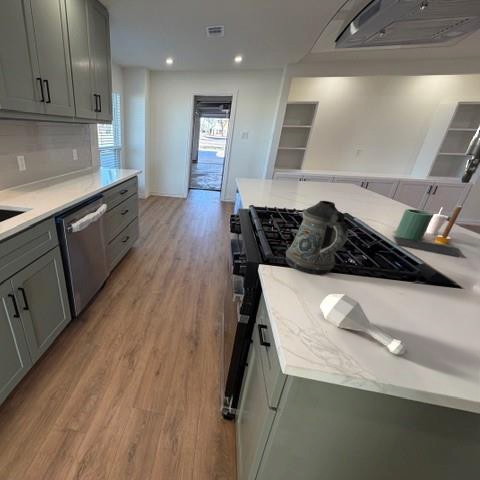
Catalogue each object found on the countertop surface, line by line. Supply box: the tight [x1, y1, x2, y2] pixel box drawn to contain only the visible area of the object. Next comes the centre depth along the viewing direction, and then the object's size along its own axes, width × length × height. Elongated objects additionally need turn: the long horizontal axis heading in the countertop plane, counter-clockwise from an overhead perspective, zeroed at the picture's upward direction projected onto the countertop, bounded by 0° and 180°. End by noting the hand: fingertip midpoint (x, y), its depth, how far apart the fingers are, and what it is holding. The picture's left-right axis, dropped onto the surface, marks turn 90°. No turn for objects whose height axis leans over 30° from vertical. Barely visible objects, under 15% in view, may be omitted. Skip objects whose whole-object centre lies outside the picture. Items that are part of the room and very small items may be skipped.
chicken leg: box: [319, 293, 406, 355], centre depth 64 cm, size 8×18×8 cm, turn 37°
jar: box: [394, 208, 435, 241], centre depth 125 cm, size 10×10×13 cm
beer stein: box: [285, 200, 349, 276], centre depth 92 cm, size 16×19×25 cm
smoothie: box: [426, 206, 449, 235], centre depth 131 cm, size 6×6×14 cm
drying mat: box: [393, 235, 460, 258], centre depth 117 cm, size 20×12×1 cm, turn 55°
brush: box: [434, 205, 463, 246], centre depth 118 cm, size 5×5×18 cm
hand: (464, 181), depth 116 cm, fingers open, 8 cm apart
